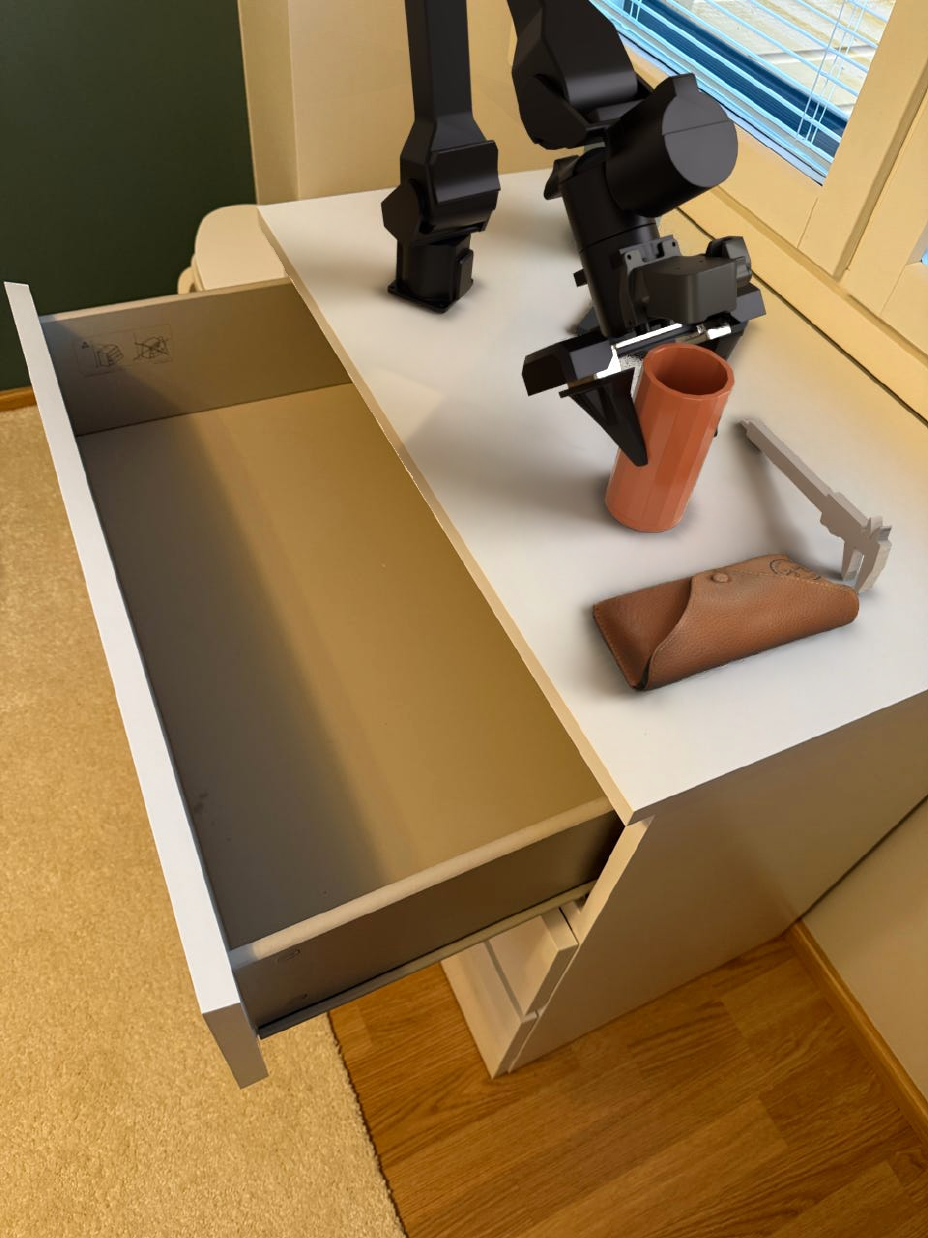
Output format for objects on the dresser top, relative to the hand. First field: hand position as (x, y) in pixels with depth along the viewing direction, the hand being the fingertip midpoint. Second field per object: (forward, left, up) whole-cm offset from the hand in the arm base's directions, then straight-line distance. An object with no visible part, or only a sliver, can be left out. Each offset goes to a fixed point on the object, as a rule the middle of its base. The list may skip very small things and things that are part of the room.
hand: (677, 451), depth 69 cm
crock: (-1, +1, -7) cm, 7 cm away
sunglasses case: (+8, -8, -7) cm, 13 cm away
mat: (-8, +25, -7) cm, 27 cm away
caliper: (+10, +8, -7) cm, 14 cm away
